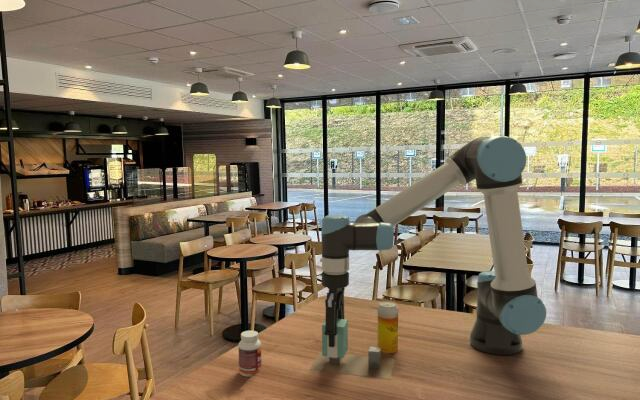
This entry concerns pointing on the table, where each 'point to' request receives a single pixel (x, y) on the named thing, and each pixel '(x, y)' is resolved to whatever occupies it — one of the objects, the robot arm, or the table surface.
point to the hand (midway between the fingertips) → (335, 351)
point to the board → (354, 366)
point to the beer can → (387, 327)
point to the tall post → (335, 361)
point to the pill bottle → (249, 353)
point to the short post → (374, 358)
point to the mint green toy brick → (342, 338)
